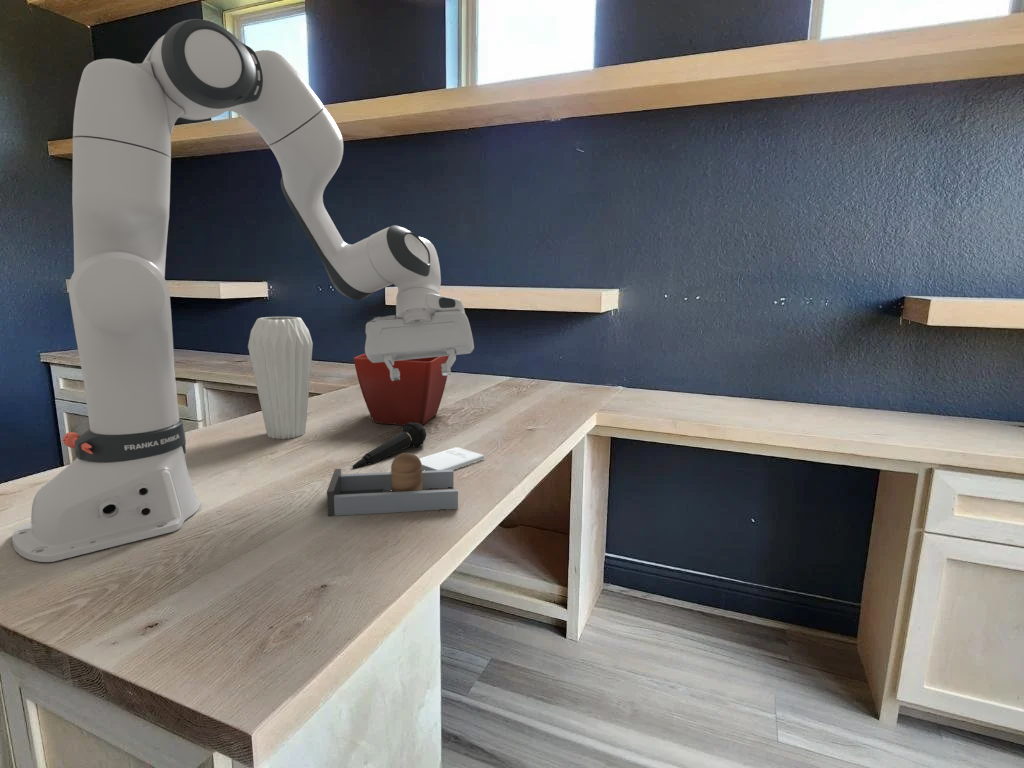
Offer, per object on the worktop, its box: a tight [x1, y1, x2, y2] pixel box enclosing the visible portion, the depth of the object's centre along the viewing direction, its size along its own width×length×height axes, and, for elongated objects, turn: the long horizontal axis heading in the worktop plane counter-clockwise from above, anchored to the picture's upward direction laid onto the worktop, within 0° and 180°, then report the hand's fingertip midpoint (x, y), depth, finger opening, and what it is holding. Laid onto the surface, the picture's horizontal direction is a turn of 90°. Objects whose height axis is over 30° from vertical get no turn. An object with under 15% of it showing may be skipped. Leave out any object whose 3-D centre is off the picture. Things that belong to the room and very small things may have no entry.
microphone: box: [352, 422, 427, 469], centre depth 116 cm, size 6×6×20 cm
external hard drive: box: [418, 446, 485, 471], centre depth 112 cm, size 2×8×12 cm
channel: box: [326, 468, 459, 517], centre depth 93 cm, size 20×10×4 cm, turn 100°
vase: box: [247, 316, 314, 440], centre depth 126 cm, size 13×13×26 cm
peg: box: [390, 452, 423, 492], centre depth 93 cm, size 5×5×8 cm
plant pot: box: [353, 352, 449, 426], centre depth 142 cm, size 19×19×17 cm
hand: (420, 376), depth 104 cm, fingers open, 8 cm apart
